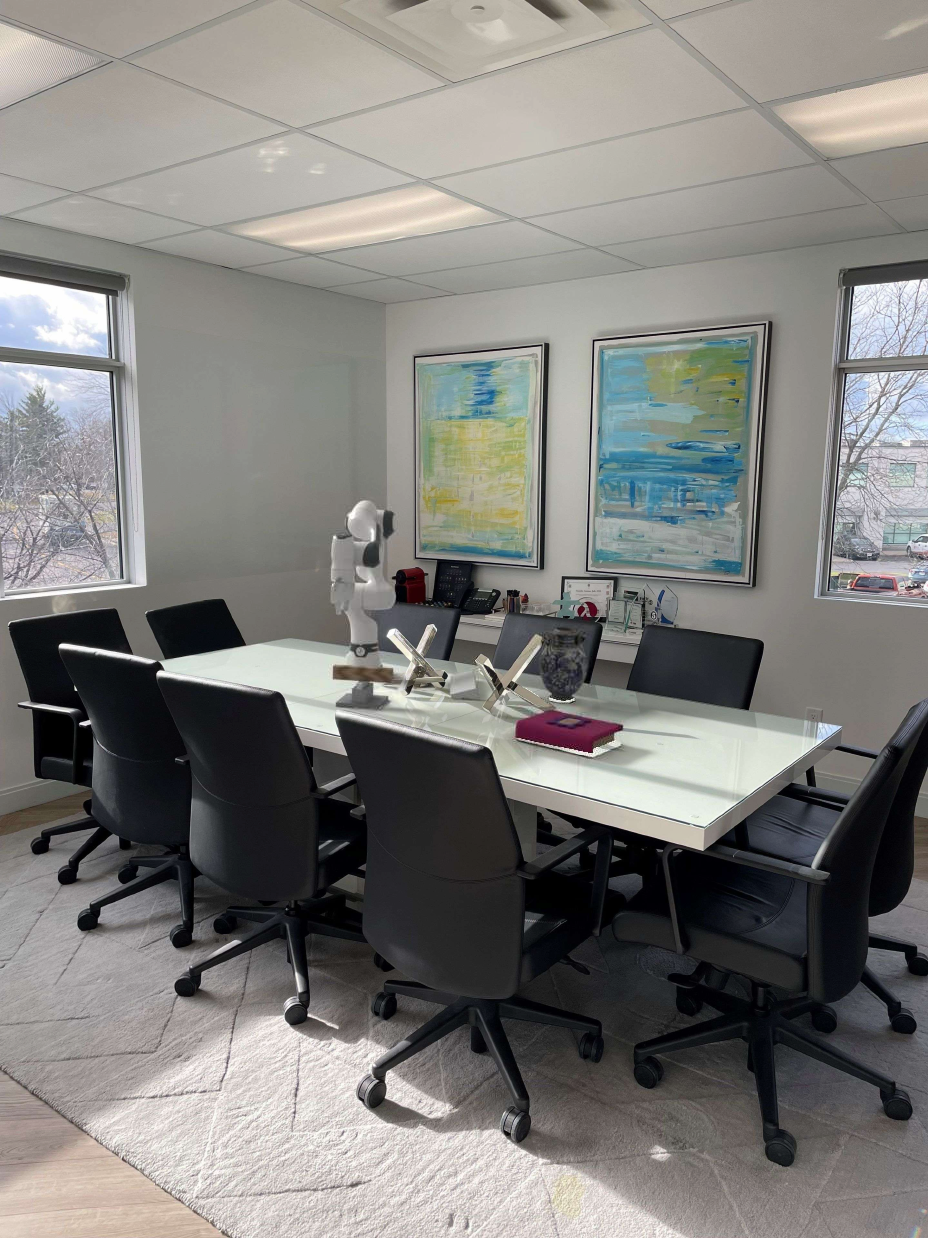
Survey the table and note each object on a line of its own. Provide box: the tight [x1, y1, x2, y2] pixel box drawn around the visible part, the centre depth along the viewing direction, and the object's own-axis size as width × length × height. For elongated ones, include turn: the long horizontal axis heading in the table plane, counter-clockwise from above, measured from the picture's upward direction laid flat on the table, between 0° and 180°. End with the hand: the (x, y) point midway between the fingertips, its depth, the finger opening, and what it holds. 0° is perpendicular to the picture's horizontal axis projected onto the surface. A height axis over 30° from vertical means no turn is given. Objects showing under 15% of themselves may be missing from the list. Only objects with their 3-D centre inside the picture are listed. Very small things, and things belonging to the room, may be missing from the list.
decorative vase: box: [538, 626, 589, 701], centre depth 343 cm, size 21×19×28 cm
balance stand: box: [335, 681, 390, 710], centre depth 329 cm, size 15×16×8 cm
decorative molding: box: [449, 669, 479, 700], centre depth 358 cm, size 34×5×10 cm
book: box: [514, 709, 624, 753], centre depth 286 cm, size 21×28×8 cm
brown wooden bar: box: [332, 664, 394, 684], centre depth 328 cm, size 22×3×5 cm, turn 82°
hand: (342, 612), depth 340 cm, fingers open, 8 cm apart
